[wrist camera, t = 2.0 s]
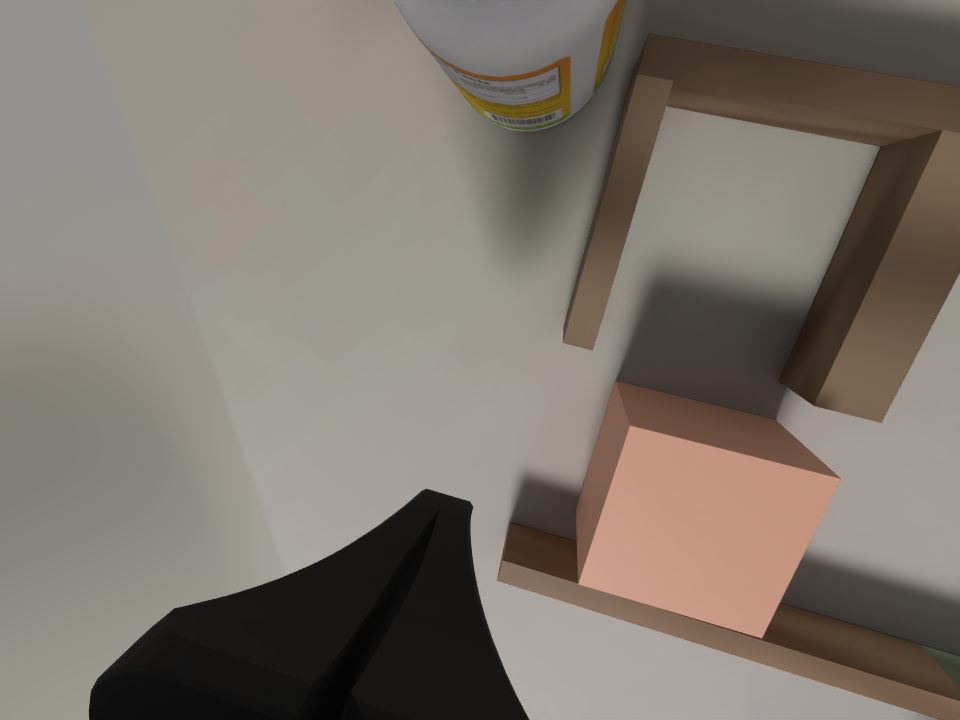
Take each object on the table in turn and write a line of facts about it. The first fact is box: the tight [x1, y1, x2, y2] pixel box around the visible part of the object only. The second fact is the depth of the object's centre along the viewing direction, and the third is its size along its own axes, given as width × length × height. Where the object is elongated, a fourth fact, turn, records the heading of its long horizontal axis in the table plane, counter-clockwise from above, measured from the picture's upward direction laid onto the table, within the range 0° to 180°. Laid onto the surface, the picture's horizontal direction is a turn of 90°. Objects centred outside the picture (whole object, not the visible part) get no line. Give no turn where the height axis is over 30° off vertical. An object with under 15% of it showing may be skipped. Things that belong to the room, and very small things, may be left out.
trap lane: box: [497, 34, 960, 720], centre depth 15 cm, size 19×25×2 cm
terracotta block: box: [576, 381, 841, 638], centre depth 17 cm, size 6×6×4 cm
